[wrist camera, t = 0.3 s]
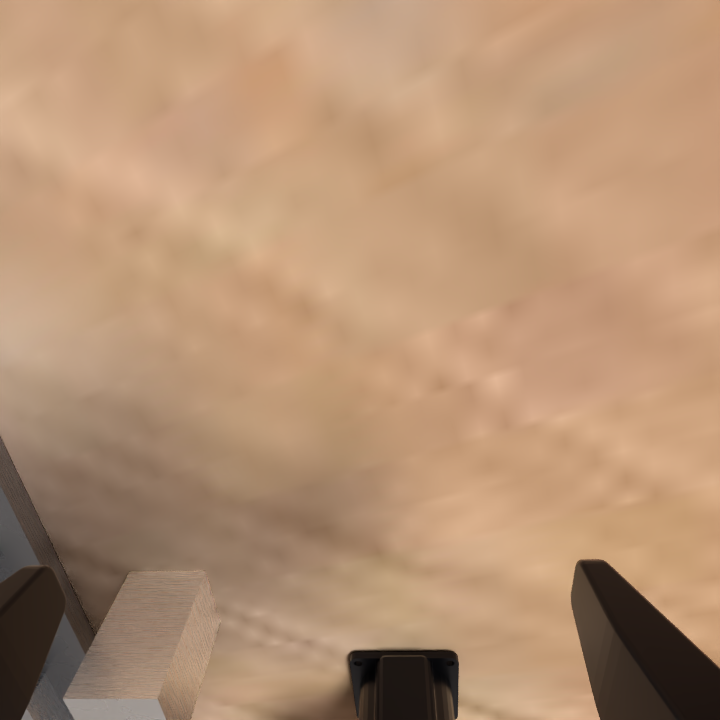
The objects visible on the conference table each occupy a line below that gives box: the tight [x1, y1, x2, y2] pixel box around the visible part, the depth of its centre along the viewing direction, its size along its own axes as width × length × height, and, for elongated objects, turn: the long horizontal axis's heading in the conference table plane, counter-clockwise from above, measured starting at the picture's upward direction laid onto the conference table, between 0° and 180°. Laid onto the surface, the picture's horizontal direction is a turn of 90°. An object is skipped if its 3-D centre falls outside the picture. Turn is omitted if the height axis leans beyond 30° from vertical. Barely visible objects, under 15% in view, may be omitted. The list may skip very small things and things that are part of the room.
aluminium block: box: [63, 570, 221, 720], centre depth 28 cm, size 4×4×7 cm
